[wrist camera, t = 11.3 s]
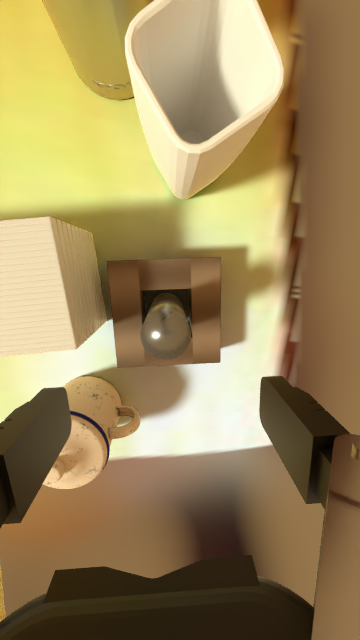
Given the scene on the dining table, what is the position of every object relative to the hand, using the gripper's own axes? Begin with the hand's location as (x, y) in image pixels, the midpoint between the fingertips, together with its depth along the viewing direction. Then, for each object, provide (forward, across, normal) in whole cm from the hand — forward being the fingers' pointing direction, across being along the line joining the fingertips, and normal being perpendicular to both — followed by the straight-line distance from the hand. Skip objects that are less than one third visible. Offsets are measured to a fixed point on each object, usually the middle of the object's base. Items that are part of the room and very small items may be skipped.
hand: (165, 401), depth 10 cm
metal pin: (+22, 0, 0) cm, 22 cm away
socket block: (+22, 0, 0) cm, 22 cm away
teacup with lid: (+22, +10, +13) cm, 27 cm away
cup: (+22, -3, -16) cm, 27 cm away
